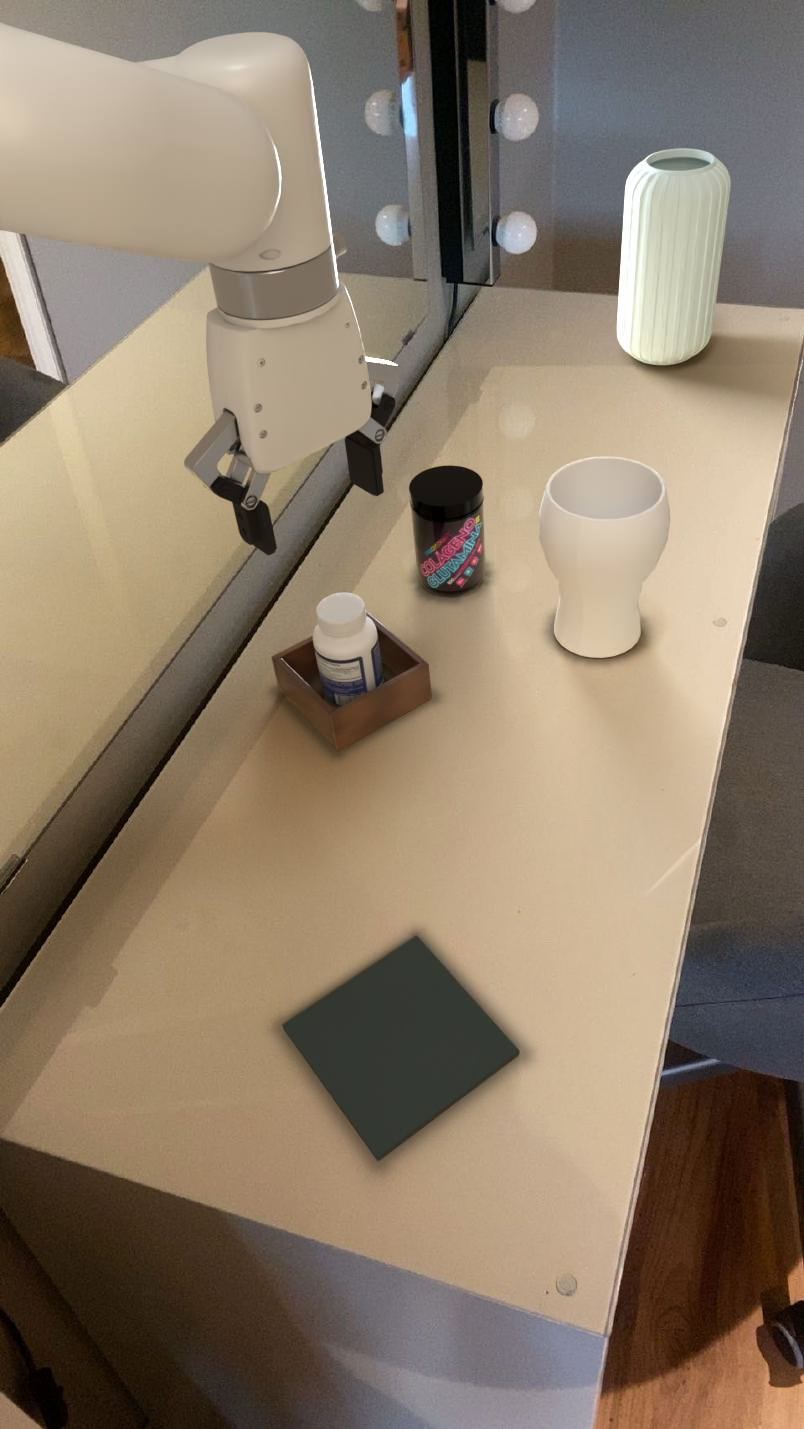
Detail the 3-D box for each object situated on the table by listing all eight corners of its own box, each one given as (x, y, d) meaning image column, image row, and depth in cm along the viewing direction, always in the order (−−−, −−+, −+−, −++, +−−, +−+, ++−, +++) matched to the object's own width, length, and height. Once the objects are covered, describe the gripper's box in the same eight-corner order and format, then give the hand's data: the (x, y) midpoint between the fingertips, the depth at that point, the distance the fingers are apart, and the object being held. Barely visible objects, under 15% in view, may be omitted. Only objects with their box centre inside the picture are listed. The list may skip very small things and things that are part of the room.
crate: (338, 751, 87) (332, 717, 84) (278, 690, 92) (270, 656, 90) (432, 698, 90) (429, 663, 87) (368, 642, 96) (364, 608, 93)
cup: (681, 625, 94) (700, 481, 84) (607, 687, 89) (618, 541, 79) (587, 579, 100) (594, 438, 89) (513, 635, 95) (511, 493, 85)
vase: (718, 336, 133) (743, 145, 117) (697, 378, 126) (721, 180, 110) (629, 326, 137) (642, 140, 121) (604, 366, 130) (614, 174, 114)
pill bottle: (356, 665, 94) (342, 578, 87) (398, 691, 91) (387, 604, 84) (311, 696, 92) (293, 609, 85) (352, 725, 89) (337, 637, 82)
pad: (377, 1161, 62) (376, 1157, 62) (282, 1028, 69) (281, 1024, 69) (519, 1054, 66) (519, 1050, 66) (417, 938, 73) (416, 934, 73)
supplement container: (405, 590, 101) (395, 497, 94) (435, 551, 105) (428, 459, 98) (468, 606, 99) (464, 512, 91) (497, 565, 103) (495, 472, 95)
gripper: (347, 220, 69) (374, 450, 81) (120, 311, 62) (186, 548, 74) (422, 247, 65) (439, 486, 77) (188, 347, 57) (247, 594, 69)
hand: (315, 516), depth 75 cm, fingers open, 9 cm apart
